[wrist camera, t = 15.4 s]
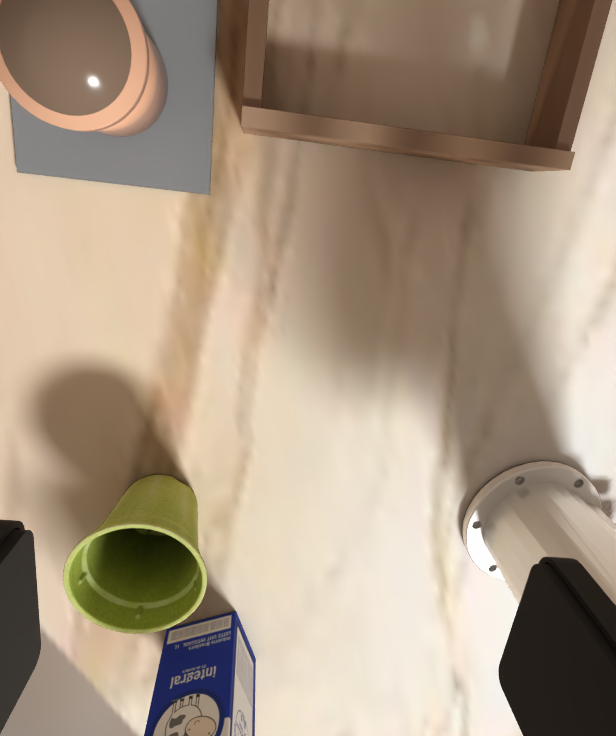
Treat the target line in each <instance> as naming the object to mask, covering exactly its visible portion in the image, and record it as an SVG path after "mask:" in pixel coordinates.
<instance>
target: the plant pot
mask: <svg viewBox="0 0 616 736" xmlns="http://www.w3.org/2000/svg"><path fill="white" fill-rule="evenodd" d="M63 584H64V588H65V591H66V594H67V596H68V599H69V600H70V602H71V603H72V605H73V606H74V607H75V608H76V609H77V610H78V612H79V613H81V614H82V615H83V616H84V617H85V618H87V619H88V620H90V621H92V622H93V623H95V624H97V625H99V626H101V627H103V628H106V629H109V630H113V631H117V632H122V633H131V634H145V633H152V632H156V631H160V630H164V629H167V628H170V627H172V626H174V625H176V624H178V623H180V622H182V621H183V620H185V619H186V618H187V617H188V616H190V615H191V614H192V613H193V612H194V611H195V610H196V608H197V607H198V606H199V604H200V603H201V601H202V599H203V597H204V594H205V591H206V586H207V572H206V567H205V564H204V561H203V559H202V557H201V555H200V552H199V549H198V511H197V500H196V497H195V495H194V493H193V491H192V490H191V489H190V488H189V487H188V486H187V485H184V484H183V483H181V482H179V481H178V480H176V479H175V478H174V477H171V476H167V475H151V476H147V477H144V478H141V479H139V480H137V481H136V482H135V483H133V484H132V485H131V486H130V487H129V488H128V490H127V491H126V492H125V494H124V495H123V496H122V498H121V499H120V500H119V502H118V503H117V505H116V506H115V508H114V509H113V510H112V512H111V513H110V514H109V516H108V517H107V519H106V520H105V521H104V523H103V524H102V525H101V527H99V528H98V529H97V530H95V531H94V532H92V533H91V534H89V535H87V536H86V537H85V538H83V539H82V540H81V541H80V542H79V543H78V544H77V545H76V546H75V547H74V549H73V550H72V552H71V553H70V555H69V557H68V558H67V561H66V563H65V566H64V571H63Z"/></svg>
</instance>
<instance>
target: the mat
mask: <svg viewBox="0 0 616 736" xmlns="http://www.w3.org/2000/svg"><path fill="white" fill-rule="evenodd" d="M129 1H130V2H131V4H132V5H133V7H134V9H135V10H136V12H137V14H138V16H139V18H140V20H141V23H142V25H143V28H144V31H145V32H146V33H147V34H148V36H149V37H150V38H151V40H152V41H153V42H154V44H155V45H156V47H157V48H158V50H159V52H160V54H161V56H162V58H163V61H164V63H165V67H166V70H167V76H168V95H167V100H166V103H165V106H164V109H163V111H162V113H161V115H160V116H159V118H158V119H157V121H156V122H155V123H154V124H153V125H152V126H150V127H149V128H148V129H147V130H145V131H143V132H141V133H139V134H136V135H133V136H127V137H115V136H110V135H106V134H103V133H100V132H96V131H91V132H81V131H74V130H69V129H65V128H61V127H58V126H55V125H52V124H49V123H47V122H45V121H43V120H41V119H39V118H38V117H36V116H34V115H33V114H31V113H30V112H29V111H27V110H26V109H25V108H23V107H22V106H21V105H20V104H19V103H18V102H17V101H16V100H15V99H14V98H13V97H12V96H11V94H10V97H11V109H12V120H13V132H14V143H15V155H16V166H17V172H19V173H28V174H36V175H45V176H53V177H62V178H71V179H79V180H88V181H96V182H105V183H113V184H122V185H131V186H139V187H148V188H156V189H165V190H173V191H182V192H191V193H199V194H208V195H210V179H211V155H212V130H213V106H214V82H215V58H216V34H217V10H218V0H129Z"/></svg>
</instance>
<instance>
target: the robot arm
mask: <svg viewBox="0 0 616 736" xmlns="http://www.w3.org/2000/svg"><path fill="white" fill-rule="evenodd" d="M462 533H463V541H464V544H465V547H466V549H467V552H468V553H469V555H470V557H471V558H472V560H473V562H474V563H475V564H476V565H477V566H478V567H479V568H480V569H481V570H482V571H484V572H485V573H487V574H489V575H491V576H494V577H496V578H499V579H504V580H505V582H506V583H507V585H508V587H509V588H510V590H511V592H512V593H513V595H514V597H515V598H516V600H517V602H518V603H519V606H518V610H517V613H516V616H515V619H514V622H513V625H512V628H511V631H510V634H509V637H508V640H507V643H506V646H505V649H504V652H503V655H502V658H501V661H500V665H499V680H500V684H501V687H502V690H503V692H504V694H505V696H506V698H507V701H508V703H509V705H510V707H511V709H512V712H513V714H514V716H515V718H516V721H517V723H518V725H519V727H520V729H521V732H522V734H523V736H616V524H615V523H614V522H613V521H612V520H611V519H610V518H608V517H607V516H606V515H605V514H604V513H603V512H602V511H601V501H600V497H599V494H598V492H597V490H596V488H595V487H594V485H593V484H592V483H591V482H590V481H589V480H588V479H587V478H586V477H585V476H584V475H583V474H581V473H580V472H579V471H578V470H576V469H574V468H572V467H570V466H568V465H565V464H561V463H557V462H547V461H540V462H532V463H527V464H523V465H520V466H516V467H514V468H512V469H509V470H507V471H505V472H503V473H501V474H500V475H498V476H497V477H495V478H494V479H492V480H491V481H490V482H489V483H487V484H486V485H485V486H484V487H483V488H482V489H481V490H480V491H479V492H478V494H477V495H476V496H475V497H474V499H473V500H472V502H471V504H470V506H469V507H468V509H467V512H466V515H465V518H464V521H463V530H462ZM40 649H41V638H40V623H39V609H38V594H37V579H36V565H35V550H34V537H33V533H32V531H30V530H25V529H24V525H23V523H22V522H20V521H12V520H0V733H1V731H2V729H3V728H4V726H5V724H6V722H7V719H8V718H9V716H10V714H11V712H12V710H13V709H14V707H15V705H16V703H17V701H18V699H19V697H20V695H21V693H22V691H23V689H24V688H25V686H26V684H27V682H28V680H29V678H30V676H31V674H32V672H33V670H34V669H35V666H36V664H37V661H38V658H39V654H40Z"/></svg>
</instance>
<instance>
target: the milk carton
mask: <svg viewBox="0 0 616 736" xmlns="http://www.w3.org/2000/svg"><path fill="white" fill-rule="evenodd" d="M255 663H256V660H255V656H254V654H253V651H252V649H251V647H250V644H249V642H248V639H247V637H246V634H245V632H244V630H243V627H242V625H241V622H240V620H239V617H238V615H237V612H236V611H234V612H231V613H227V614H223V615H219V616H215V617H212V618H208V619H204V620H200V621H196V622H192V623H189V624H185V625H181V626H177V627H173V628H170V629H167V631H166V635H165V640H164V645H163V650H162V654H161V659H160V664H159V668H158V673H157V678H156V682H155V687H154V692H153V697H152V701H151V706H150V711H149V715H148V720H147V725H146V729H145V734H144V736H255Z"/></svg>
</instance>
